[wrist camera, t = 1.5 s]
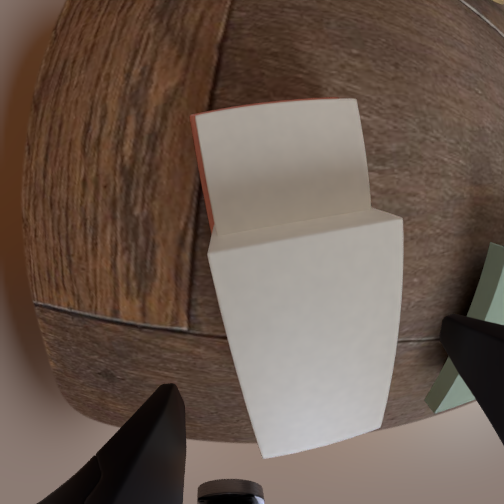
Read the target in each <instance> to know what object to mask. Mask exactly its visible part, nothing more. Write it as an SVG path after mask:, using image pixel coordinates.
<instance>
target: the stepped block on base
mask: <svg viewBox="0 0 504 504" xmlns="http://www.w3.org/2000/svg"><path fill="white" fill-rule="evenodd" d="M190 123H191V129H192V135H193V141H194V147H195V152H196V158H197V163H198V169H199V174H200V180H201V185H202V190H203V195H204V200H205V205H206V211H207V216H208V220H209V225H210V230H211V235H212V236H211V240H210V244H209V249H208V253H207V256H208V261H209V265H210V269H211V274H212V278H213V282H214V287H215V291H216V295H217V299H218V303H219V307H220V311H221V315H222V319H223V323H224V327H225V331H226V335H227V339H228V343H229V346H230V350H231V354H232V358H233V361H234V365H235V369H236V372H237V376H238V379H239V383H240V387H241V390H242V394H243V397H244V400H245V404H246V407H247V411H248V414H249V417H250V421H251V424H252V427H253V430H254V434H255V437H256V440H257V443H258V446H259V449H260V453H261V456H262V458H263V459H265V458H271V457H277V456H282V455H288V454H292V453H297V452H301V451H305V450H310V449H314V448H318V447H322V446H325V445H329V444H332V443H336V442H339V441H343V440H346V439H349V438H352V437H355V436H358V435H361V434H364V433H367V432H370V431H372V430H375V429H378V428H380V427H381V424H382V420H383V416H384V412H385V408H386V403H387V399H388V394H389V389H390V384H391V378H392V373H393V367H394V361H395V354H396V347H397V339H398V331H399V322H400V311H401V298H402V280H403V219H402V217H399V216H396V215H393V214H390V213H387V212H384V211H381V210H378V209H375V208H372V207H371V197H370V186H369V177H368V168H367V160H366V153H365V146H364V139H363V133H362V127H361V121H360V116H359V110H358V105H357V100H356V99H339V98H338V97H326V98H306V99H293V100H281V101H272V102H263V103H255V104H248V105H241V106H234V107H228V108H222V109H217V110H211V111H206V112H201V113H196V114H192V115H190Z"/></svg>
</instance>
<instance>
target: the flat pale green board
mask: <svg viewBox="0 0 504 504" xmlns="http://www.w3.org/2000/svg"><path fill="white" fill-rule="evenodd" d="M467 317H471V318H475V319H479V320H484V321H488V322H492V323H497V324H501V325H504V246H501V245H498V244H495V243H492V242H490V245H489V249H488V253H487V256H486V260H485V264H484V267H483V271H482V274H481V277H480V280H479V283H478V286H477V289H476V292H475V295H474V298H473V301H472V303H471V306H470V309H469V311H468V314H467ZM472 400H475V397H474V396H473V394H472V393H471V391H470V390H469V388H468V387H467V385H466V384H465V382H464V381H463V379H462V378H461V376H460V375H459V373H458V372H457V370H456V368H455V366H454V365H453V363H452V361H451V359H450V358H449V356H448V358H447V360H446V362H445V364H444V366H443V368H442V370H441V372H440V374H439V376H438V377H437V379H436V381H435V383H434V384H433V386H432V388H431V390H430V391H429V393H428V395H427V396H426V398H425V402H426V403H427V404H428V406H429V407H430V408H431V410H432V411H433V413H438V412H441V411H444V410H447V409H450V408H453V407H456V406H459V405H462V404H464V403H467V402H470V401H472Z"/></svg>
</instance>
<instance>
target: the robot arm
mask: <svg viewBox="0 0 504 504" xmlns="http://www.w3.org/2000/svg"><path fill="white" fill-rule="evenodd" d="M440 342H441V344H442V346H443V347H444V349H445V351H446V352H447V354H448V356H449V358H450V359H451V361H452V363H453V365H454V366H455V368H456V370H457V372H458V373H459V375H460V376H461V378H462V379H463V381H464V382H465V384H466V385H467V387H468V388H469V390H470V391H471V393H472V394H473V396H474V397H475V399H476V400H477V402H478V403H479V405H480V406H481V408H482V410H483V411H484V413H485V414H486V416H487V417H488V419H489V421H490V422H491V424H492V426H493V428H494V429H495V431H496V433H497V434H498V436H499V438H500V440H501V441H502V443H503V445H504V325H501V324H497V323H492V322H488V321H484V320H479V319H475V318H471V317H467V316H462V315H458V314H450V315H448V316H445V317H444V319H443V321H442V327H441V332H440ZM185 459H186V427H185V405H184V401H183V399H182V397H181V395H180V393H179V390H178V388H177V386H176V385H175V384H173V383H170V384H162V385H161V386H160V387H159V388H158V389H157V390H156V391H155V392H154V393H153V394H152V395H151V396H150V397H149V398H148V400H147V401H146V402H145V403H144V404H143V405H142V406H141V407H140V408H139V409H138V410H137V411H136V412H135V413H134V414H133V416H132V417H131V418H130V419H129V420H128V421H127V422H126V423H125V424H124V425H123V426H122V427H121V428H120V429H119V430H118V431H117V433H115V435H114V436H113V437H112V438H111V439H110V440H109V441H108V442H107V443H106V444H105V445H104V446H103V447H102V448H101V449H100V450H99V451H98V452H97V453H96V456H93V457H92V458H91V459H90V461H88V462H87V463H86V464H85V465H84V466H83V467H82V468H81V469H80V470H79V471H78V472H77V473H76V474H75V475H73V476H72V477H71V478H70V479H69V480H67V481H66V482H65V483H64V484H63V485H61V486H60V487H59V488H58V489H56V490H55V491H54V492H52V493H51V494H50V495H48V496H47V497H46V498H44V499H43V500H42V501H40V502H39V503H37V504H182V503H183V487H184V474H185V461H186V460H185ZM198 502H199V503H200V504H259V503H258V501H257V500H256V498H255V496H254V495H253V494H246V495H235V496H221V497H199V498H198Z"/></svg>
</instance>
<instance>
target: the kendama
mask: <svg viewBox="0 0 504 504" xmlns="http://www.w3.org/2000/svg"><path fill="white" fill-rule="evenodd" d="M492 1H494V2H496V3H499V4H502V5H504V0H492Z"/></svg>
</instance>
